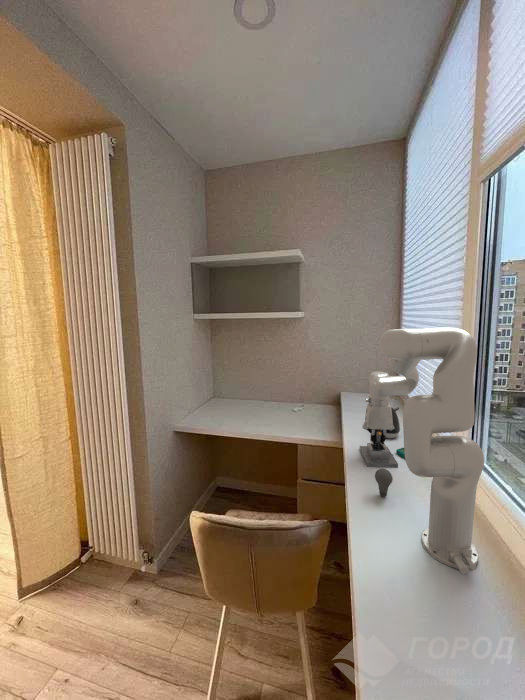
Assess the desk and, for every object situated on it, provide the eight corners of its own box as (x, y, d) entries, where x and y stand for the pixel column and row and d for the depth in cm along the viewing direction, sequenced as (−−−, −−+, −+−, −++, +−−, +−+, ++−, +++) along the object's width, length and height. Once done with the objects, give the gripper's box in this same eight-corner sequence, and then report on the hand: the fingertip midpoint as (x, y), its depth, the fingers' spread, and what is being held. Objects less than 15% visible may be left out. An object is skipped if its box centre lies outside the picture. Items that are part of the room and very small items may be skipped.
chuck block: (398, 467, 112) (398, 456, 111) (367, 466, 114) (367, 455, 113) (385, 447, 128) (385, 436, 127) (358, 446, 130) (358, 436, 129)
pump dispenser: (404, 439, 135) (405, 409, 132) (384, 441, 133) (385, 411, 131) (391, 430, 145) (392, 402, 142) (373, 432, 143) (373, 404, 141)
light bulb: (392, 493, 97) (393, 467, 95) (391, 503, 92) (392, 476, 91) (375, 489, 99) (375, 463, 98) (373, 499, 95) (374, 472, 93)
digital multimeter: (434, 455, 121) (435, 448, 120) (409, 463, 115) (409, 456, 115) (419, 447, 128) (420, 441, 127) (395, 454, 122) (395, 448, 122)
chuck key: (383, 451, 116) (383, 431, 114) (376, 451, 116) (376, 431, 115) (378, 443, 123) (379, 424, 121) (371, 443, 123) (372, 424, 122)
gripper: (360, 404, 113) (360, 446, 116) (402, 404, 111) (401, 447, 114) (356, 398, 120) (356, 438, 123) (396, 398, 118) (394, 438, 121)
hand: (377, 442), depth 119 cm, fingers closed on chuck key, 2 cm apart
